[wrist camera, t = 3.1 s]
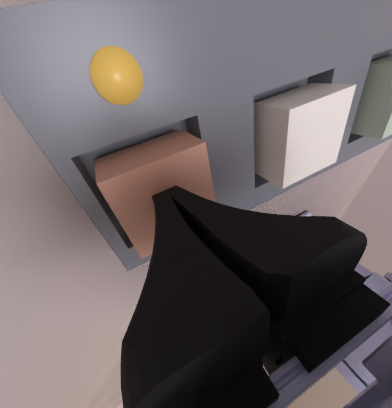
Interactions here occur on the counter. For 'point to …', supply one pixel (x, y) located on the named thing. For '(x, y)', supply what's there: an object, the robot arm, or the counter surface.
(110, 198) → the terracotta key
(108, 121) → the keypad
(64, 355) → the counter surface
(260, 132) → the cream key
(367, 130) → the sage key
